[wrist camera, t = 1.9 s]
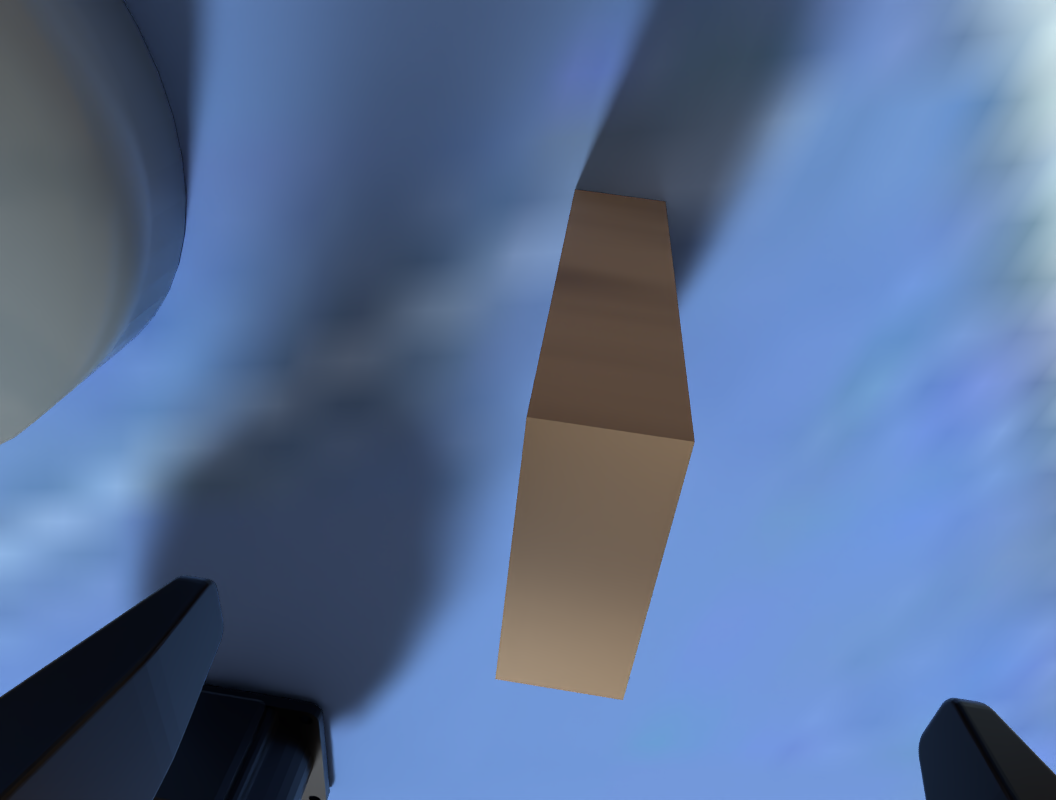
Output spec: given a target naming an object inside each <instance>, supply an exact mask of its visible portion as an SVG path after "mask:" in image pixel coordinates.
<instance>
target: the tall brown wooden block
mask: <svg viewBox="0 0 1056 800" xmlns="http://www.w3.org/2000/svg"><path fill="white" fill-rule="evenodd" d="M693 446H694V433H693V425H692V417H691V409H690V400H689V392H688V384H687V375H686V367H685V359H684V351H683V342H682V334H681V326H680V318H679V309H678V301H677V293H676V284H675V276H674V268H673V260H672V251H671V243H670V235H669V226H668V218H667V210H666V202H665V201H658V200H650V199H643V198H636V197H628V196H621V195H613V194H606V193H599V192H591V191H584V190H576V189H575V192H574V197H573V201H572V206H571V211H570V215H569V220H568V225H567V230H566V234H565V239H564V244H563V248H562V253H561V258H560V262H559V267H558V272H557V277H556V281H555V286H554V291H553V295H552V300H551V305H550V310H549V314H548V319H547V324H546V328H545V333H544V338H543V343H542V347H541V352H540V357H539V361H538V366H537V371H536V376H535V380H534V385H533V390H532V394H531V399H530V404H529V409H528V413H527V419H526V427H525V436H524V444H523V452H522V461H521V469H520V478H519V486H518V494H517V503H516V511H515V519H514V528H513V536H512V545H511V553H510V561H509V570H508V578H507V587H506V595H505V603H504V612H503V620H502V629H501V637H500V645H499V654H498V662H497V671H496V679H499V680H505V681H511V682H517V683H523V684H529V685H535V686H541V687H547V688H553V689H559V690H565V691H571V692H577V693H583V694H589V695H596V696H602V697H608V698H614V699H620V700H623V698H624V694H625V691H626V687H627V684H628V680H629V676H630V673H631V669H632V666H633V662H634V658H635V655H636V651H637V647H638V644H639V640H640V637H641V633H642V629H643V626H644V622H645V619H646V615H647V611H648V608H649V604H650V601H651V597H652V593H653V590H654V586H655V583H656V579H657V575H658V572H659V568H660V565H661V561H662V557H663V554H664V550H665V547H666V543H667V539H668V536H669V532H670V529H671V525H672V521H673V518H674V514H675V511H676V507H677V503H678V500H679V496H680V493H681V489H682V485H683V482H684V478H685V475H686V471H687V467H688V464H689V460H690V456H691V453H692V449H693Z"/></svg>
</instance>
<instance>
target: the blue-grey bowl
mask: <svg viewBox="0 0 1056 800" xmlns="http://www.w3.org/2000/svg"><path fill="white" fill-rule="evenodd" d="M185 208H186V193H185V183H184V172H183V161H182V155H181V151H180V146H179V142H178V137H177V132H176V128H175V123H174V119H173V115H172V112H171V109H170V106H169V103H168V100H167V97H166V94H165V91H164V88H163V85H162V82H161V79H160V76H159V73H158V71H157V69H156V66H155V64H154V62H153V60H152V58H151V55H150V53H149V51H148V49H147V46H146V44H145V42H144V40H143V38H142V35H141V33H140V31H139V29H138V27H137V25H136V23H135V21H134V20H133V18H132V16H131V14H130V13H129V11H128V9H127V7H126V6H125V4H124V2H123V0H0V444H2V443H4V442H6V441H8V440H10V439H12V438H14V437H16V436H17V435H18V434H19V433H21V432H22V431H23V430H25V429H26V428H27V427H28V426H30V425H31V424H32V423H34V422H35V421H36V420H37V419H39V418H40V417H41V416H42V415H43V414H45V413H46V412H47V411H48V410H49V409H50V408H52V407H53V406H54V405H55V404H56V403H58V402H59V401H60V400H61V399H62V398H64V397H65V396H66V395H67V394H68V393H70V392H71V391H72V390H73V389H74V388H76V387H77V386H78V385H79V384H80V383H82V382H83V381H84V380H85V379H86V378H87V377H89V376H90V375H91V374H92V373H93V372H95V371H96V370H97V369H98V368H99V367H101V366H102V365H103V364H104V363H105V362H107V361H108V360H109V359H110V358H111V357H113V356H114V355H115V354H116V353H117V352H119V351H120V350H121V349H122V348H123V347H124V346H126V345H127V344H128V343H129V342H130V341H132V340H133V339H134V338H135V337H136V336H137V335H138V334H139V333H140V332H141V331H142V330H143V329H144V327H145V326H146V325H147V324H148V323H149V322H150V321H151V319H152V318H153V317H154V316H155V314H156V312H157V311H158V309H159V307H160V306H161V304H162V302H163V301H164V299H165V297H166V295H167V294H168V292H169V289H170V286H171V284H172V281H173V278H174V275H175V273H176V270H177V267H178V265H179V259H180V254H181V249H182V244H183V238H184V233H185Z"/></svg>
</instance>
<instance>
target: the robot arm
mask: <svg viewBox="0 0 1056 800" xmlns="http://www.w3.org/2000/svg"><path fill="white" fill-rule="evenodd" d="M223 625H224V624H223V617H222V612H221V606H220V601H219V596H218V590H217V586H216V584H215V583H214V582H213V581H212V580H210V579H206V578H200V577H194V576H180V577H177V578H175V579H174V580H172V581H171V582H169V583H168V584H166V585H165V586H163V587H162V588H160V589H159V590H157V591H156V592H154V593H153V594H151V595H150V596H148V597H147V598H145V599H144V600H143V601H141V602H140V603H138V604H137V605H135V606H134V607H132V608H131V609H129V610H128V611H126V612H125V613H123V614H122V615H120V616H119V617H117V618H116V619H115V620H113V621H112V622H110V623H109V624H107V625H106V626H104V627H103V628H101V629H100V630H98V631H97V632H95V633H94V634H92V635H91V636H89V637H88V638H86V639H85V640H84V641H82V642H81V643H79V644H78V645H76V646H75V647H73V648H72V649H70V650H69V651H67V652H66V653H64V654H63V655H61V656H60V657H58V658H57V659H56V660H54V661H53V662H51V663H50V664H48V665H47V666H45V667H44V668H42V669H41V670H39V671H38V672H36V673H35V674H33V675H32V676H30V677H29V678H27V679H26V680H25V681H23V682H22V683H20V684H19V685H17V686H16V687H14V688H13V689H11V690H10V691H8V692H7V693H5V694H4V695H2V696H1V697H0V800H327V799H328V796H329V793H330V789H329V777H328V766H327V755H326V744H325V733H324V722H323V712H322V709H321V708H320V707H319V706H317V705H315V704H313V703H310V702H304V701H298V700H292V699H286V698H280V697H274V696H268V695H262V694H257V693H251V692H245V691H239V690H233V689H227V688H221V687H215V686H209V685H204V682H205V680H206V677H207V675H208V672H209V670H210V667H211V665H212V662H213V659H214V657H215V654H216V652H217V649H218V647H219V644H220V642H221V638H222V634H223ZM919 760H920V766H921V772H922V778H923V785H924V791H925V797H926V800H1056V775H1055V774H1054V773H1053V772H1052V770H1051V769H1050V768H1049V767H1048V766H1047V765H1046V764H1045V763H1044V762H1043V761H1042V760H1041V759H1040V758H1039V757H1038V756H1037V755H1036V754H1035V753H1034V752H1033V751H1032V750H1031V749H1030V748H1029V747H1028V746H1027V745H1026V744H1025V743H1024V742H1023V740H1022V739H1021V738H1020V737H1019V736H1018V735H1017V734H1016V733H1015V732H1014V731H1013V730H1012V729H1011V728H1010V727H1009V726H1008V725H1007V724H1006V723H1005V722H1004V721H1003V720H1002V719H1001V718H1000V717H999V716H998V715H997V714H996V713H995V711H993V710H992V709H991V708H990V707H989V706H987V705H986V704H984V703H981V702H977V701H971V700H964V699H958V698H950V699H948V700H946V701H944V703H943V704H942V705H941V707H940V708H939V710H938V711H937V713H936V714H935V716H934V717H933V719H932V720H931V722H930V723H929V725H928V726H927V728H926V729H925V731H924V732H923V734H922V736H921V739H920V742H919Z"/></svg>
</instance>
